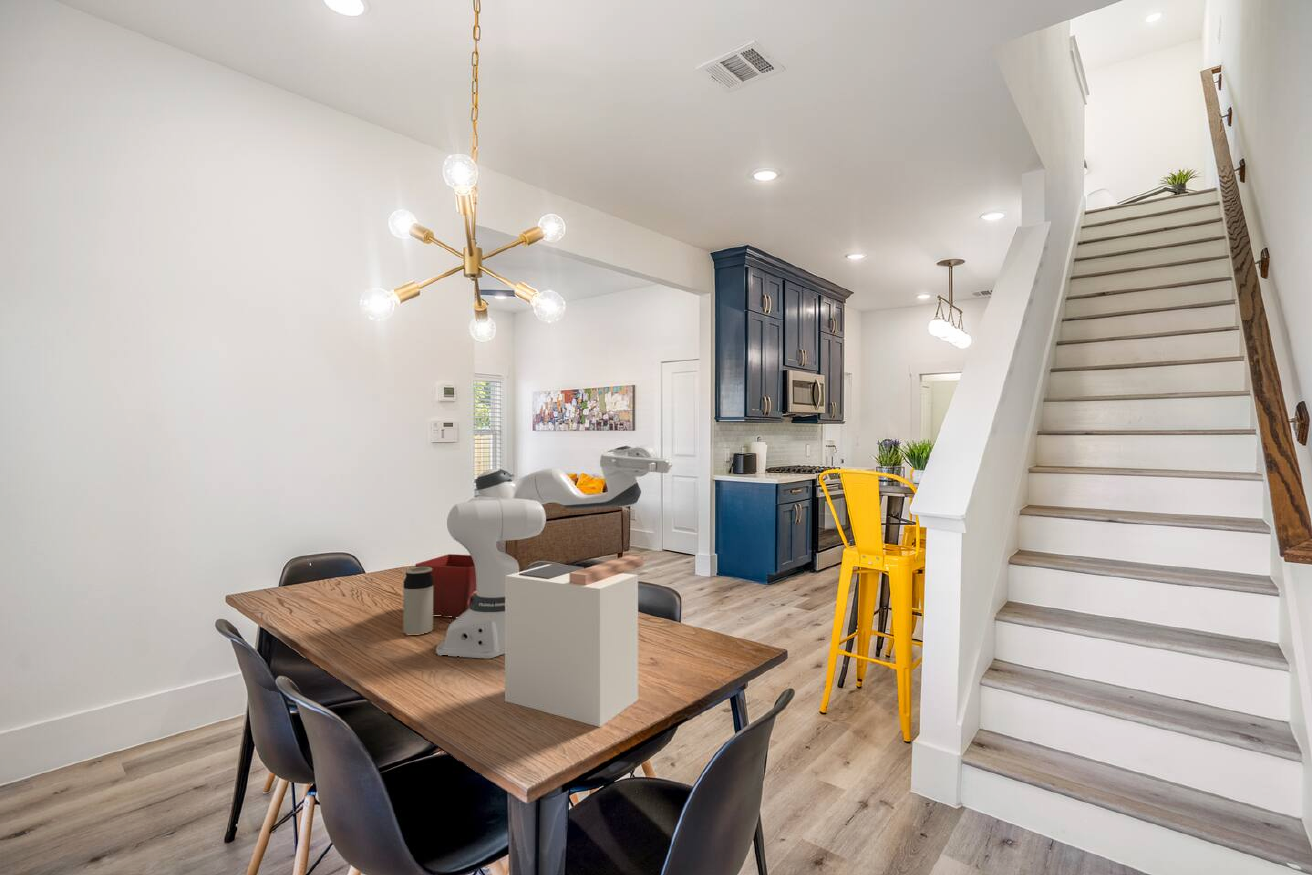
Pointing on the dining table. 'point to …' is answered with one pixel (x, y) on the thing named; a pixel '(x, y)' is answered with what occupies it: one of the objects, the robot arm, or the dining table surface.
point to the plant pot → (451, 583)
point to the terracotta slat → (605, 570)
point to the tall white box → (571, 643)
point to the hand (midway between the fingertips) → (630, 465)
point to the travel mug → (418, 600)
